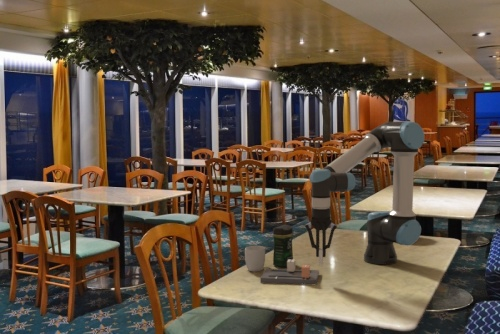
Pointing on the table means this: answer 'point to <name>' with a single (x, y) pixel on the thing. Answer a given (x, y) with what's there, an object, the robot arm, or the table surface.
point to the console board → (288, 276)
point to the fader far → (291, 265)
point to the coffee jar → (282, 245)
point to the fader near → (305, 271)
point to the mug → (255, 258)
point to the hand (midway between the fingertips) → (320, 264)
